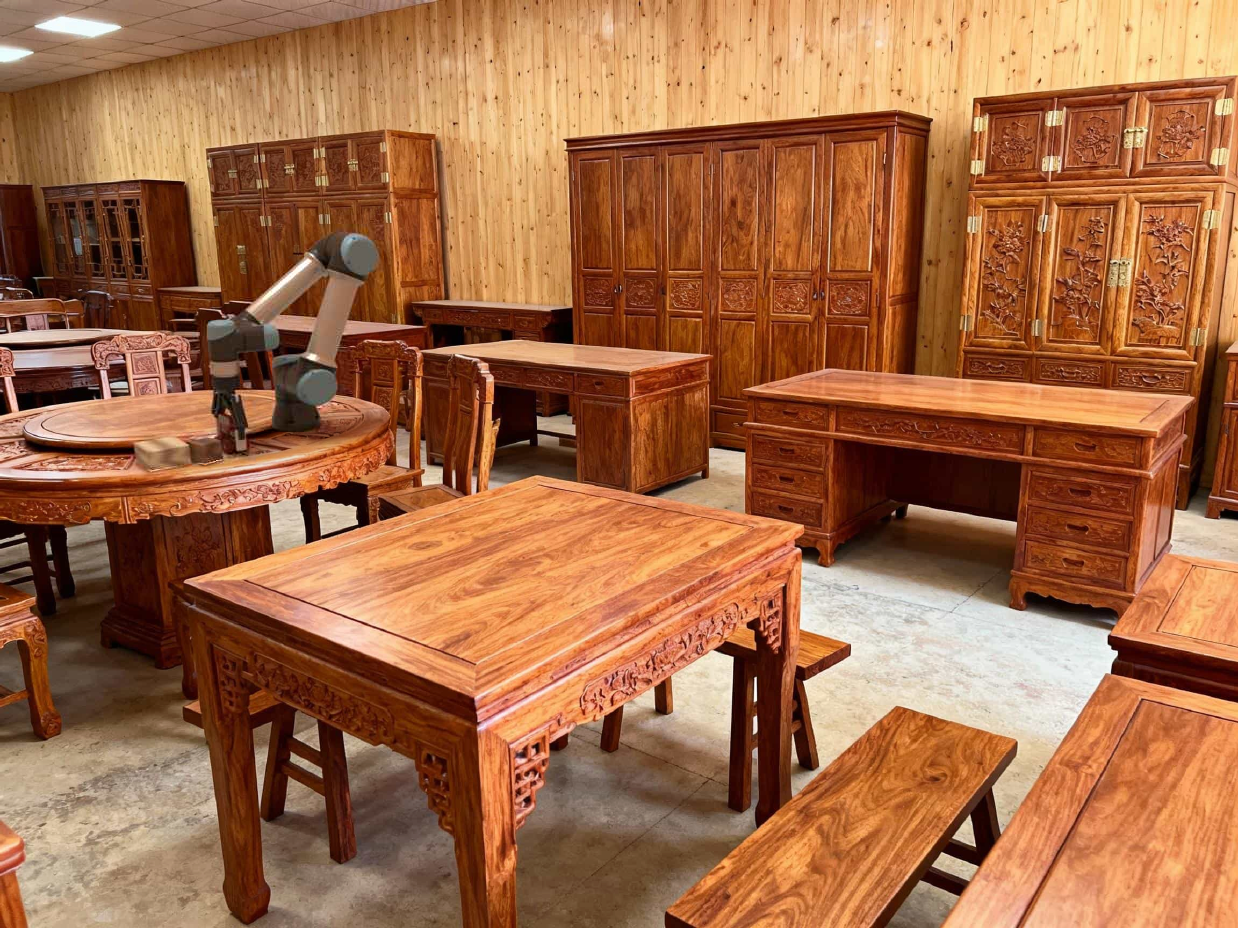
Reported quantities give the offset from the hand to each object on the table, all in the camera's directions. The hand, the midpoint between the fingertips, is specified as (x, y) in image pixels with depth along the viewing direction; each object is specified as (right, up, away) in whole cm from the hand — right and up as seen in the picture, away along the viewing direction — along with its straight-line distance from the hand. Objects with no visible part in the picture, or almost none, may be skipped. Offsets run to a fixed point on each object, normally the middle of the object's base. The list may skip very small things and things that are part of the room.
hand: (231, 444), depth 272 cm
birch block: (-13, -6, -13) cm, 20 cm away
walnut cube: (-3, -5, -10) cm, 12 cm away
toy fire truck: (0, -2, +1) cm, 2 cm away
